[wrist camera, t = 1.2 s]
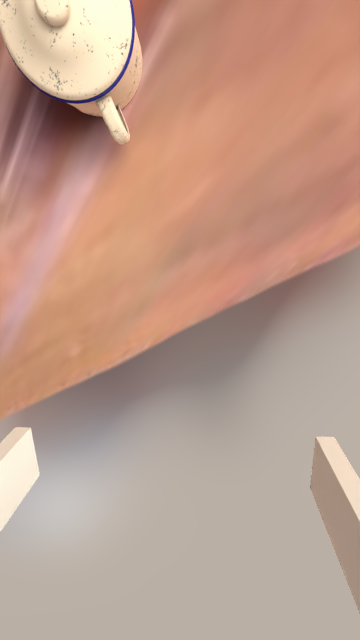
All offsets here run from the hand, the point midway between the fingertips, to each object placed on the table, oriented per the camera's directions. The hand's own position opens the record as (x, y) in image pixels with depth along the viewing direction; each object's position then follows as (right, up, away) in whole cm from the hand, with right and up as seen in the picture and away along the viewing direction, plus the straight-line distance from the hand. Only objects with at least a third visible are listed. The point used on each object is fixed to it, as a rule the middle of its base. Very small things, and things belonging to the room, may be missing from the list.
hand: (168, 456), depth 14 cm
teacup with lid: (-7, +29, +15) cm, 33 cm away
